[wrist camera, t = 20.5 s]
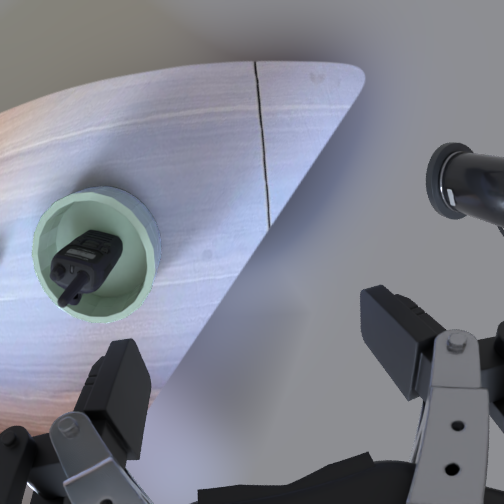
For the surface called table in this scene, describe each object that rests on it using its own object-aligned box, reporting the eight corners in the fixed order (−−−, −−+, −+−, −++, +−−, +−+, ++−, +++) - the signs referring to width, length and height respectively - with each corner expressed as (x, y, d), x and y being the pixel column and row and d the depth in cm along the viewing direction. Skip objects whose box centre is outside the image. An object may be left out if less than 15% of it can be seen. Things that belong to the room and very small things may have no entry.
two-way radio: (128, 235, 33) (82, 292, 19) (122, 272, 34) (80, 346, 20) (83, 224, 32) (16, 273, 18) (78, 261, 33) (18, 325, 19)
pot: (175, 204, 34) (170, 214, 29) (147, 313, 37) (140, 337, 32) (63, 173, 31) (42, 178, 25) (47, 282, 34) (28, 301, 29)
